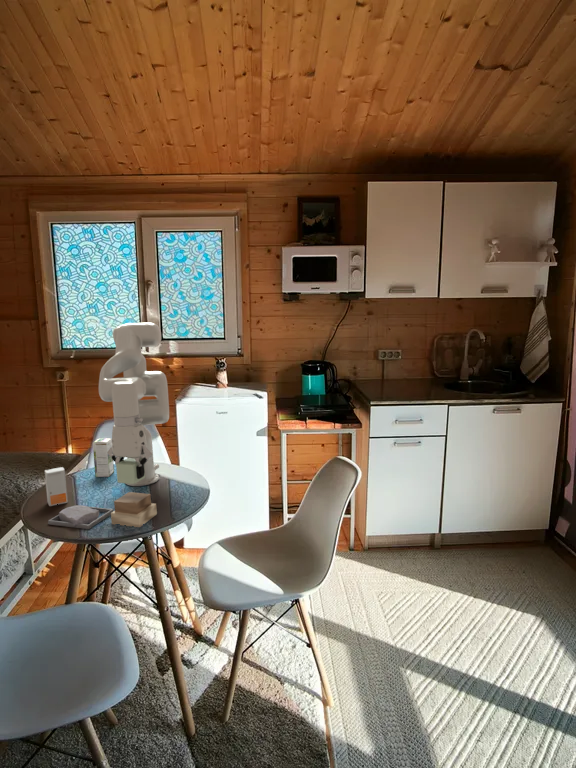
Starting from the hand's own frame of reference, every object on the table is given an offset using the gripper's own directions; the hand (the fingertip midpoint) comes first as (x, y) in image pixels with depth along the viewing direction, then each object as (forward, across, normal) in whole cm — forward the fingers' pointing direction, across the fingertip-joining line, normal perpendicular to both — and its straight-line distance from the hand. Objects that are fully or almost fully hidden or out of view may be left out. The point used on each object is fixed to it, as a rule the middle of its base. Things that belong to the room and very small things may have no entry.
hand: (131, 476), depth 160 cm
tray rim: (+14, +17, +4) cm, 23 cm away
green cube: (+1, 0, 0) cm, 1 cm away
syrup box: (+14, +36, -34) cm, 52 cm away
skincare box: (+14, +34, -5) cm, 37 cm away
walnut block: (+11, 0, 0) cm, 11 cm away
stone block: (+15, +17, +4) cm, 23 cm away
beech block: (+15, 0, 0) cm, 15 cm away
